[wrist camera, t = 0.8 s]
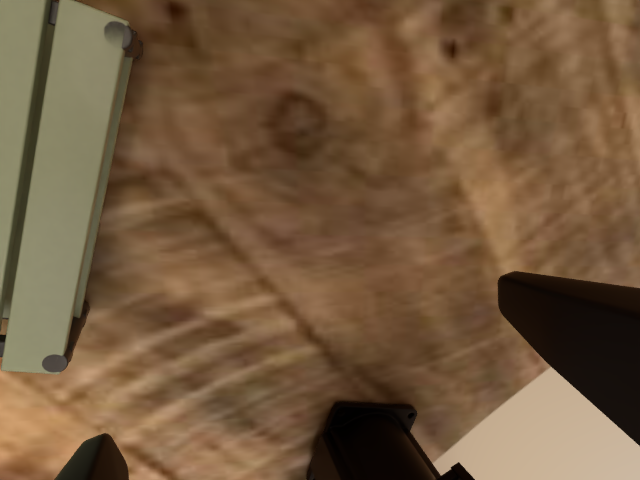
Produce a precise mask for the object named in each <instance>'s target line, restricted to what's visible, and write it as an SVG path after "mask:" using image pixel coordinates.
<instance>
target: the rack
mask: <svg viewBox="0 0 640 480" xmlns="http://www.w3.org/2000/svg"><path fill="white" fill-rule="evenodd" d="M142 46H143V42H142V41H140V40H138V39H137V33H136V31H134V30H131V28H130V23H129V22H128V21H127V20H124V19H122V18H119V17H117V16H114V15H111V14H109V13H106V12H104V11H101V10H98V9H96V8H93V7H91V6H88V5H85V4H83V3H80V2H78V1H75V0H59V2H57V1H55V0H0V330H1V324H2V319H9V320H8V326H7V333H6V335H0V357H3V358H2V364H1V370H2V371H14V372H29V373H44V374H60V372H61V371H63V370H64V369H65V368H66V367H67V366H68V363H69V362H70V361H71V358H72V356H73V351H74V348H75V345H76V343H77V340H78V338H79V335H80V333H81V330H82V328H83V327H84V325H85V323H86V318H87V315H88V313H89V310H90V307H89V305H88V303H87V302H85V301H84V298H85V293H86V288H87V283H88V278H89V273H90V268H91V263H92V258H93V254H94V249H95V244H96V239H97V234H98V229H99V224H100V219H101V214H102V209H103V204H104V199H105V194H106V189H107V184H108V179H109V174H110V169H111V165H112V160H113V155H114V150H115V145H116V140H117V135H118V130H119V125H120V120H121V115H122V110H123V105H124V100H125V95H126V90H127V85H128V80H129V76H130V71H131V66H132V61H135V60H139V59H140V57H141V56H142V53H143V48H142Z"/></svg>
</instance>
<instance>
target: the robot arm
mask: <svg viewBox="0 0 640 480" xmlns="http://www.w3.org/2000/svg"><path fill="white" fill-rule="evenodd" d="M498 305H499V309H500V311H501V313H502V315H503V316H504V317H505V318H506V319H507V320H508V321H509V322H510V324H511V325H512V326H513V327H514V328H515V329H516V330H517V331H518V332H519V333H520V334H521V335H522V337H523V338H524V339H525V340H526V341H527V342H528V343H529V344H530V345H531V346H532V347H533V348H534V349H535V351H536V352H537V353H538V354H539V355H540V356H541V357H542V358H543V359H544V360H545V361H546V362H547V363H548V364H549V365H550V366H551V367H552V368H554V369H555V370H556V371H557V372H558V373H559V374H560V375H561V376H562V377H564V378H565V379H566V380H567V381H568V382H569V383H570V384H571V385H572V386H573V387H575V388H576V389H577V390H578V391H579V392H580V393H581V394H582V395H583V396H585V397H586V398H587V399H588V400H589V401H590V402H591V403H593V404H594V405H595V406H596V407H597V408H598V409H599V410H600V411H602V412H603V413H604V414H605V415H606V416H607V417H608V418H609V419H610V420H611V421H613V422H614V423H615V424H616V425H617V426H618V427H619V428H621V429H622V430H623V431H624V432H625V433H626V434H627V435H628V436H629V437H630V438H632V439H633V440H634V441H635V442H636V443H637V444H638V445H640V288H634V287H626V286H619V285H612V284H605V283H598V282H590V281H583V280H576V279H569V278H561V277H554V276H547V275H540V274H532V273H525V272H518V271H514V272H510V273H508V274H505V275H503V276H501V277H500V278H499V280H498ZM341 409H342V410H341ZM339 410H341V411H339ZM416 416H417V411H416V410H415V409H414V407H413V406H408V405H390V404H372V403H354V402H338V403H336V404H335V405H334V406H333V408H332V410H331V413H330V416H329V418H328V421H327V424H326V426H325V429H324V431H323V434H322V435H321V437H320V440H319V442H318V445H317V447H316V450H315V453H314V455H313V458H312V461H311V463H310V469H309V471H308V474H307V478H306V479H307V480H475V479H474V478H473V477H472V476H471V475H470V474H469V473H468V472H467V471H466V470H465V468H464V467H463V466H462V465H461V464H460V463H459V462H458V463H457V464H455V465H454V466H452V467H451V470H449V471H448V472H446V473H445V474H443V475H442V476H441V475H440V474H439V472H438V471H437V470H436V468H435V467H434V465H433V464H432V462H431V461H430V460H429V458H428V457H427V455H426V454H425V452H424V451H423V450H422V448H421V447H420V445H419V444H418V442H417V441H416V440H415V438H414V437H413V435H412V434H411V432H410V430H411V428H412V425H413V423H414V421H415V418H416ZM54 480H129V474H128V467H127V464H126V461H125V459H124V458H123V456H122V454H121V452H120V451H119V449H118V447H117V445H116V444H115V442H114V440H113V439H112V437H111V436H110V435H109V434H106V433H104V434H101V435H98V436H96V437H93V438H91V439H88V440H86V441H85V442H83V443H82V445H81V446H80V447H79V448H78V450H77V451H76V452H75V453H74V455H73V456H72V457H71V459H70V460H69V461H68V463H67V464H66V465H65V466H64V468H63V469H62V470H61V472H60V473H59V474H58V475H57V477H56V478H55V479H54Z"/></svg>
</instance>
